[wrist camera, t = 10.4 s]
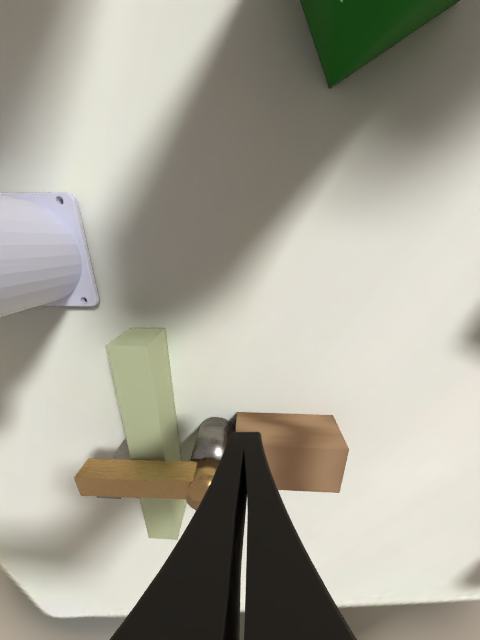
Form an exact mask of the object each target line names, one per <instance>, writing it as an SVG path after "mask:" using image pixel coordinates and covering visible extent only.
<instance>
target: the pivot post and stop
mask: <svg viewBox="0 0 480 640" xmlns="http://www.w3.org/2000/svg"><path fill="white" fill-rule="evenodd" d="M231 432H235V428H234V426H233V425H232V424H231V423H230V422H229V421H228V420H226V419H223V418H219V417H213V418H209V419H206V420H205V421H203V422H202V424H201V425H200V428H199V432H198V435H197V439H196V442H195V446H194V450H193V453H192V457H191V461H193V462H198V461H199V460H202V459H206V458H211V459H216V460H218V461H220V460H221V458H222V455H223V453H224V450H225V447H226V444H227V441H228V438H229V434H230V433H231ZM113 459H121V460H131V457H130V452H129V448H128V444H127V439H126V438H125V440H124V442H123V443H122V445H121V446H120V448H119V449H118V451H117V453H116V454H115V456H114V457H113ZM97 498H114V499H121V497H109V496H97Z"/></svg>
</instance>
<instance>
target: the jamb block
mask: <svg viewBox="0 0 480 640" xmlns="http://www.w3.org/2000/svg"><path fill="white" fill-rule="evenodd" d="M236 432H259V433H261V438H262V443H263V448H264V452H265V455H266V458H267V462H268V465H269V468H270V471H271V473H272V476H273V479H274V482H275V484H276V487H277V489H278V490H292V491H313V492H333V493H339V492H340V488H341V483H342V479H343V474H344V470H345V465H346V461H347V456H348V452H349V448H348V446H347V444H346V442H345V440H344V438H343V436H342V434H341V431H340V429H339V427H338V425H337V423H336V421H335V419H334V417H333V415H305V414H276V413H246V412H237V420H236Z"/></svg>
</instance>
